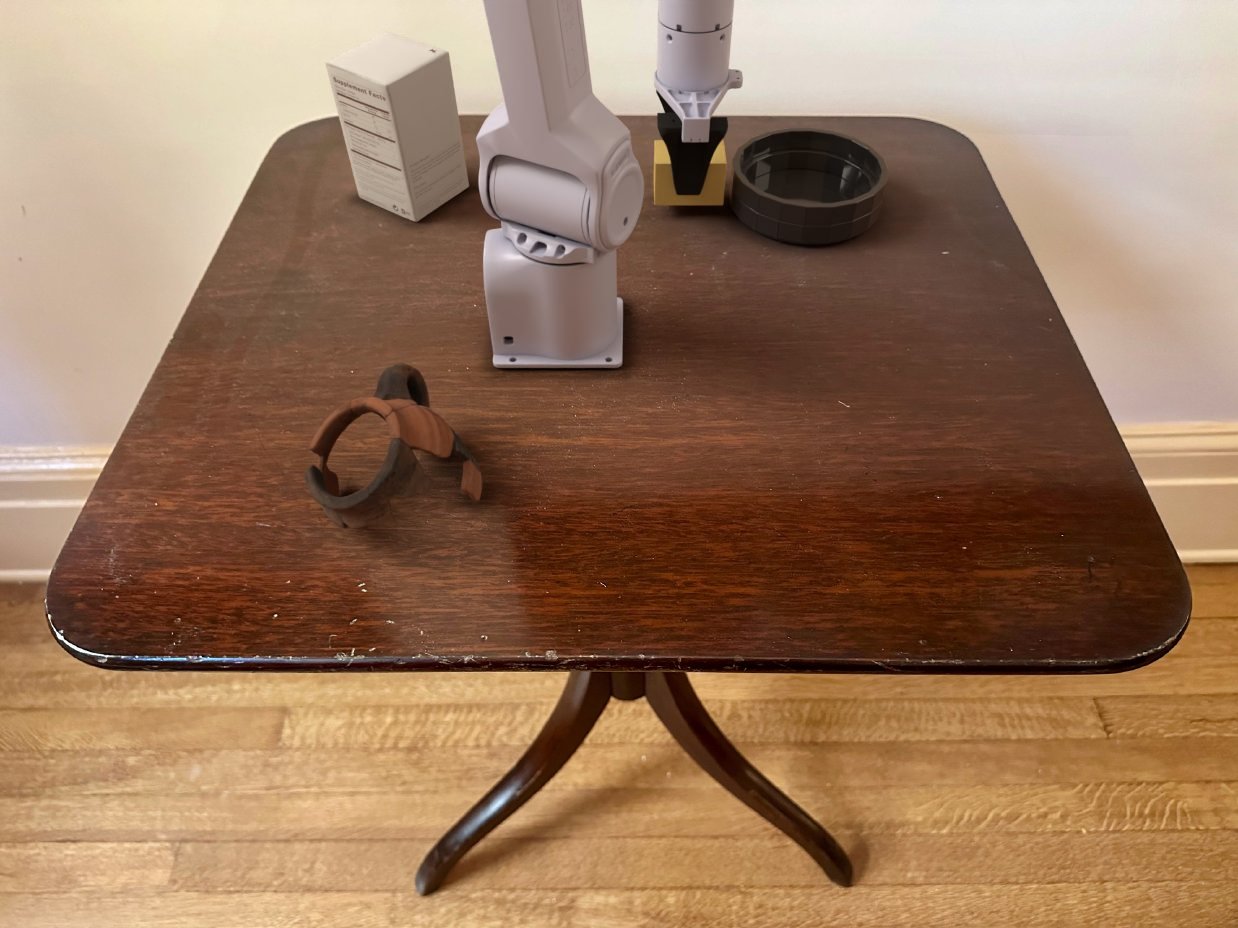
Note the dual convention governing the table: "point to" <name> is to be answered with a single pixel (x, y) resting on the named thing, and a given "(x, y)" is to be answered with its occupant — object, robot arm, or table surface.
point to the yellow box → (708, 195)
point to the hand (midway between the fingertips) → (687, 179)
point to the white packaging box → (400, 123)
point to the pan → (807, 185)
